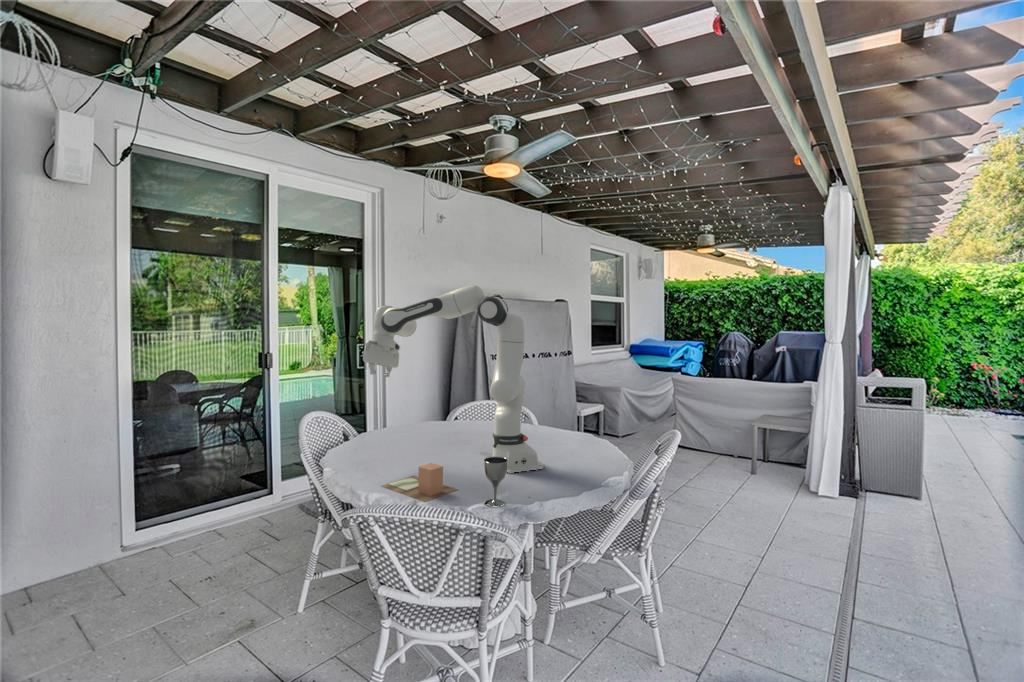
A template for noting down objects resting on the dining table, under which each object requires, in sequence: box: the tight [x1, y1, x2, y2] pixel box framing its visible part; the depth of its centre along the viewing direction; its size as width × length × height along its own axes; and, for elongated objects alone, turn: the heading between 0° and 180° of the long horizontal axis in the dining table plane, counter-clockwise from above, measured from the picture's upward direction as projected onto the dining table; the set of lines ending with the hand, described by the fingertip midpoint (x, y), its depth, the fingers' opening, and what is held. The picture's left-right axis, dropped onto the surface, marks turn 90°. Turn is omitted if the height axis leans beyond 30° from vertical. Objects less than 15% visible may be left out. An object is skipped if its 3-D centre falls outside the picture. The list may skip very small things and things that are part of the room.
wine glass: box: [483, 456, 508, 506], centre depth 174 cm, size 8×8×15 cm
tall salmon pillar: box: [418, 462, 444, 496], centre depth 182 cm, size 6×6×9 cm
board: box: [380, 475, 459, 503], centre depth 186 cm, size 24×16×1 cm, turn 52°
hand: (379, 375), depth 217 cm, fingers open, 8 cm apart
